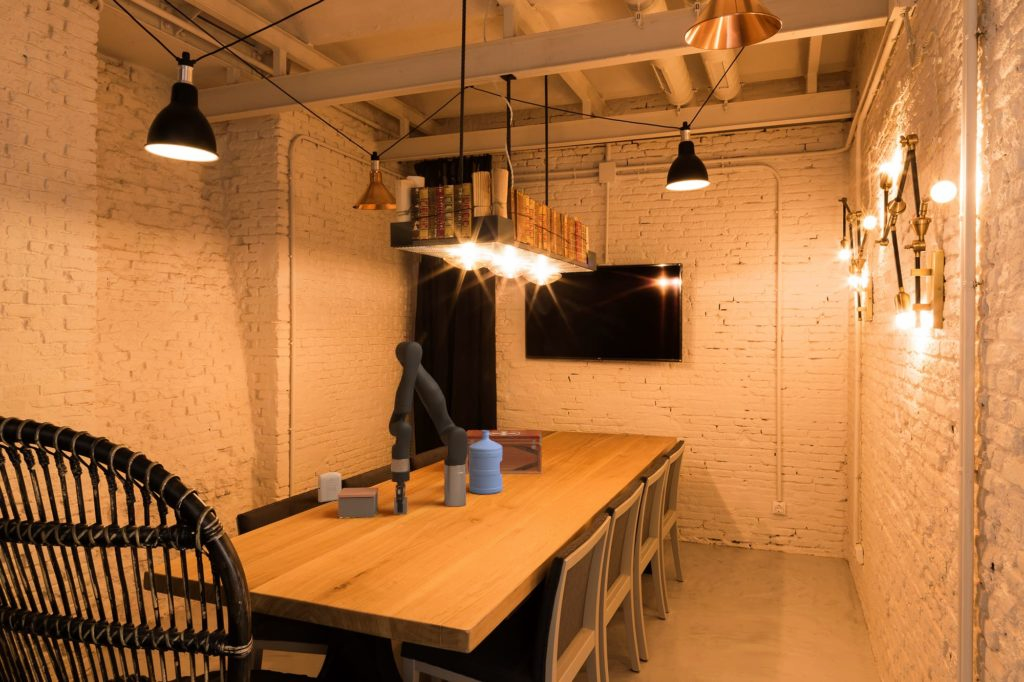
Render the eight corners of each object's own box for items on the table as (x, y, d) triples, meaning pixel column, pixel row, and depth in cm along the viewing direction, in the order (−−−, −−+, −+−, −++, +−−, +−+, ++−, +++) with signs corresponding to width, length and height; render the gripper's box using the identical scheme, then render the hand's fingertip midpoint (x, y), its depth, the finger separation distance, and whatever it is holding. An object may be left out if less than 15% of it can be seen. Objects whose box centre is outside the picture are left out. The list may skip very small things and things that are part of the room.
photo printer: (339, 497, 304) (339, 470, 304) (342, 499, 301) (342, 471, 301) (316, 501, 299) (316, 473, 299) (319, 503, 295) (319, 474, 295)
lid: (378, 489, 283) (378, 487, 283) (374, 496, 271) (374, 494, 271) (342, 490, 282) (342, 488, 282) (337, 497, 270) (337, 495, 270)
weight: (407, 511, 281) (407, 496, 281) (406, 514, 276) (406, 499, 276) (395, 511, 281) (394, 497, 280) (394, 514, 276) (393, 500, 276)
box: (377, 509, 284) (377, 490, 283) (374, 517, 272) (374, 497, 271) (343, 510, 283) (343, 491, 282) (338, 518, 271) (338, 498, 270)
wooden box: (542, 474, 352) (542, 435, 352) (463, 474, 353) (463, 436, 353) (541, 466, 373) (541, 430, 372) (467, 466, 373) (466, 430, 373)
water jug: (483, 496, 305) (482, 434, 304) (462, 490, 317) (461, 430, 316) (509, 491, 315) (509, 430, 315) (488, 485, 327) (487, 427, 327)
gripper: (408, 472, 271) (408, 515, 271) (410, 465, 285) (411, 506, 286) (389, 473, 271) (389, 515, 271) (392, 466, 285) (393, 506, 285)
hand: (400, 510), depth 278 cm, fingers closed on weight, 5 cm apart
